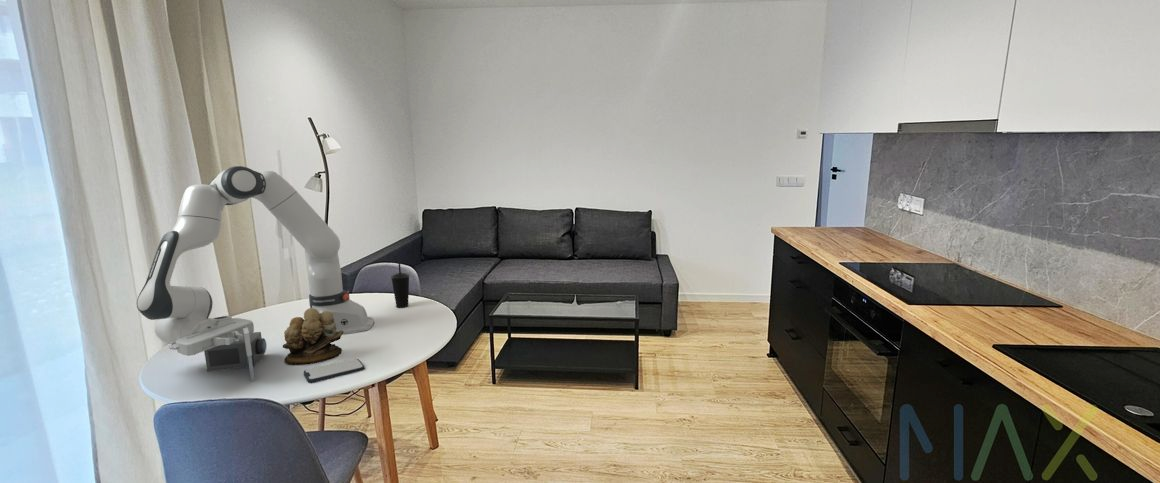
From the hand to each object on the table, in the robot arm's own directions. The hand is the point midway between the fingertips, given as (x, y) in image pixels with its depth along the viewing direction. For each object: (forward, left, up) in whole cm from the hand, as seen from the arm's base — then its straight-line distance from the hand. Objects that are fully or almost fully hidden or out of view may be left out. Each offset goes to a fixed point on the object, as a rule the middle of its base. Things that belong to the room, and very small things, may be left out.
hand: (236, 339), depth 150 cm
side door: (-1, -5, -13) cm, 14 cm away
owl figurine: (-17, -13, -13) cm, 26 cm away
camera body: (+6, -15, -13) cm, 21 cm away
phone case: (-25, +1, -14) cm, 29 cm away
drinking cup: (-42, -60, -13) cm, 75 cm away
